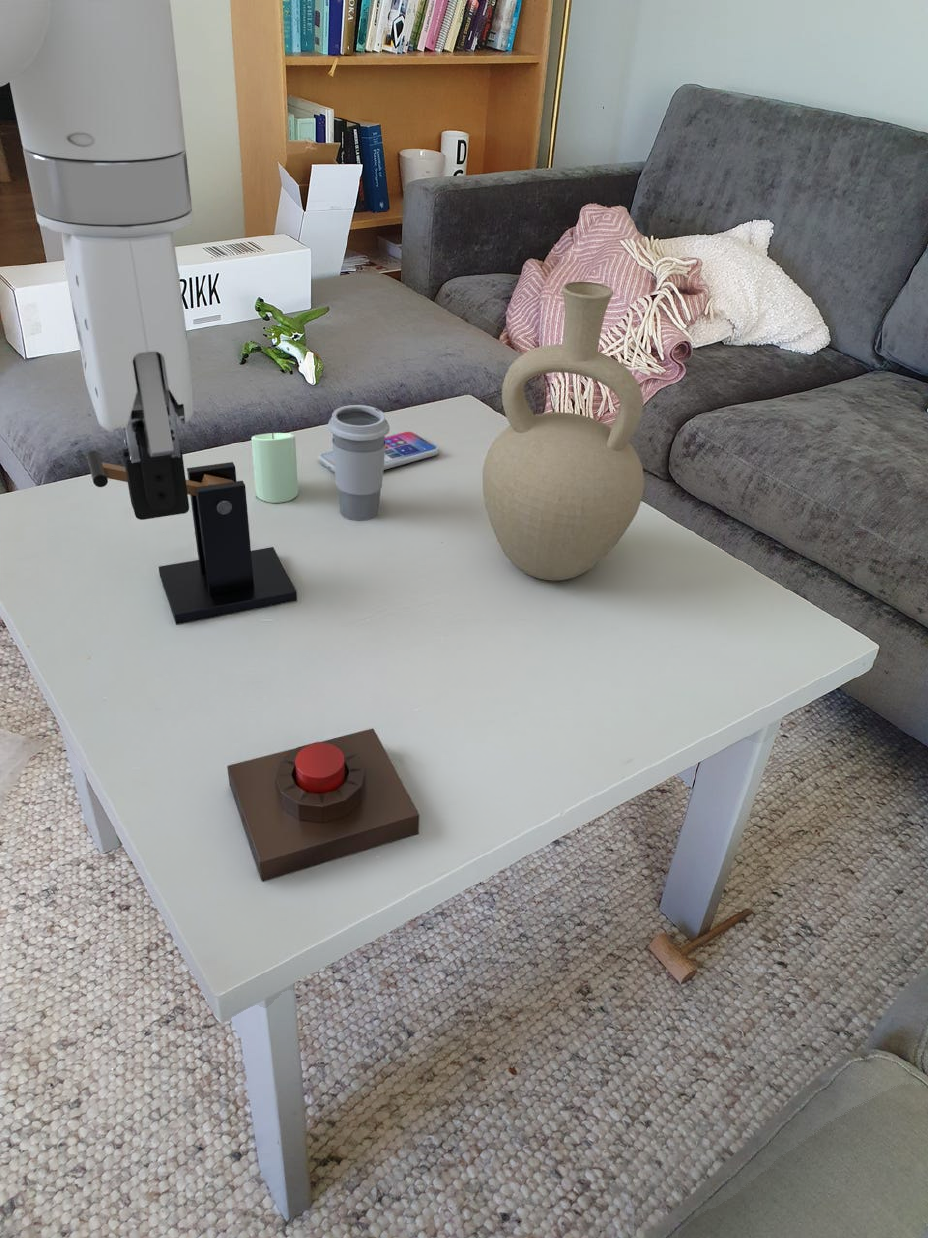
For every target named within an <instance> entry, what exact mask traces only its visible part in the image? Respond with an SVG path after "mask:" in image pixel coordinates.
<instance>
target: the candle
mask: <svg viewBox="0 0 928 1238" xmlns="http://www.w3.org/2000/svg"><path fill="white" fill-rule="evenodd" d="M296 447H297V444H296V435H295V434H293V433H287V432H269V433H261V434H255V435H253V436H251V451H252V461H253V462H252V463H253V475H254V489H255V496H256V497H257V498H258V499H259V500H261V501H263V502H265V503H269V504H270V503H271V504H282V503H286V502H290V501H292V500H294V499H295V498H296V497H297V496H298V494H299V486H298V485H299V484H298V482H299V481H298V467H297V448H296Z"/></svg>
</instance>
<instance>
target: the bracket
mask: <svg viewBox="0 0 928 1238" xmlns="http://www.w3.org/2000/svg"><path fill="white" fill-rule="evenodd" d="M236 470H237V469H236V465H235V464H234V462H233V461H229V462H223V463H215V464H207V465H200V466H192V467H186V472H187V480H190V481H195V482H200V483H202V480H203V477H204V474H206V475H211V476H216V477H220V478H225V479H230V480H233V482H228V483H221V484H214V485H207V486H200V487H196V488H195V489H196V496H194V495H189V496H190V497H189V498H190V505H191V511H192V519H193V528H194V535H195V542H196V550H197V556H198V558H197V559H195V560H190V561H189V560H188V561H183V562H177V563H172V564H165V565H160V566H158V572H159V578H160V581H161V584H162V586H163V590H164V593H165V596H166V599H167V601H168V605H169V608H170V611H171V614H172V617H173V620H174V623H175V625H181V624H187V623H191V622H196V621H203V620H207V619H212V618H213V619H214V618H217V617H221V616H227V615H234V614H238V613H242V612H248V611H253V610H258V609H263V608H269V607H274V606H278V605H284V604H288V603H294V602H298V592H297V591H298V590H297V589H296V587H295V585H294V584H293V582H292V580H291V578H290V576H289V574H288V573H287V570H286V568H285V566H284V564H283V562H282V560H281V559H280V557H279V556H278V555H279V554H278V553H277V552H276V549H275V547H274V546H271V547H264V548H259V549H254V550H252V549H251V548H252V547H251V535H250V526H249V525H250V524H249V514H248V512H249V511H248V501H247V491H246V489H247V488H246V484H245V482H244V480H237V472H236Z"/></svg>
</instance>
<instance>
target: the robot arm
mask: <svg viewBox="0 0 928 1238" xmlns="http://www.w3.org/2000/svg"><path fill="white" fill-rule="evenodd" d="M171 4H172V3H171V0H0V88H1V87H3V86H6V85H7V84H8V83H9V86H10V92H11V97H12V101H13V106H14V112H15V116H16V121H17V126H18V130H19V136H20V140H21V145H22V152H23V156H24V162H25V166H26V172H27V177H28V181H29V187H30V191H31V198H32V202H33V208H34V211H35V216H36V221H37V224H38V225H39V226H40V227H42V228H45V229H47V230H49V231H52V232H56V233H59V234H61V243H62V251H63V259H64V265H65V273H66V279H67V285H68V291H69V295H70V300H71V301H70V302H71V307H72V312H73V317H74V318H73V319H74V322H75V323H74V324H75V328H76V333H77V339H78V345H79V351H80V356H81V363H82V370H83V375H84V380H85V383H86V387H87V391H88V394H89V397H90V400H91V404H92V407H93V410H94V413H95V416H96V419H97V421H98V425H99V426H100V427H101V428H102V429H103V430H105V431H107V432H108V433H116V429H121V433H122V438H123V443H124V446H125V448H122V449H121V453H122V457H123V463H124V467H125V470H126V476H127V481H128V482H127V487H128V492H129V498H130V503H131V506H132V509H133V513H134V516H135V517H136V519H138V520H140V521H144V520H150V519H151V520H152V519H159V518H165V517H171V516H176V515H177V516H178V515H184V514H187V512H189V510H190V502H189V494H187V486H186V480H187V479H186V473H185V464H184V455H183V452H182V449H181V448H180V440H179V431H178V422H177V421H178V420H180V421H181V423H182V424H183V425H186V424H187V423H188V422H189V421H190V420H191V419H192V418H193V416H194V394H193V382H192V381H193V379H192V372H191V371H192V370H191V362H190V352H189V344H188V335H187V326H186V319H185V310H184V304H183V296H182V288H181V287H182V286H181V281H180V278H181V276H180V275H181V274H180V271H179V267H178V259H177V252H176V245H175V238H174V232H177V231H180V230H182V229H185V228H187V227H189V226H190V225H192V223H193V222H194V214H193V212H194V211H193V205H192V203H193V202H192V195H191V185H190V176H189V175H190V174H189V165H188V157H187V149H186V139H185V130H184V120H183V109H182V100H181V91H180V83H179V82H180V81H179V72H178V71H179V70H178V62H177V54H176V44H175V43H176V42H175V33H174V25H173V24H174V23H173V14H172V6H171ZM177 419H178V420H177Z"/></svg>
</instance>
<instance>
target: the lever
mask: <svg viewBox="0 0 928 1238" xmlns="http://www.w3.org/2000/svg"><path fill="white" fill-rule="evenodd" d="M86 461H87V464H88V468H89V471H90V475H91V479H92V482H93V485H94V486H96V487H97V488H104V487H106V486H107V485H108V483H109V480H116V481H120V482H125V483H128V481H127V476H126V470H125V466H123V465H118V464H113V463H109V462H105V461H104V462H103V460H102V456H101V453H100V452H99V451H97V450H90V451H88V452H87V454H86ZM228 482H233V480H230V479H225V478H220V477H216V476H211V475H206V474H204V477H203V480H202V483H200V482H195V481H190V480H188V479H186V486H187V494H188V496H190V495H194V496H196V489H195V488H196V487H200V486H207V485H214V484H221V483H228Z"/></svg>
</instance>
